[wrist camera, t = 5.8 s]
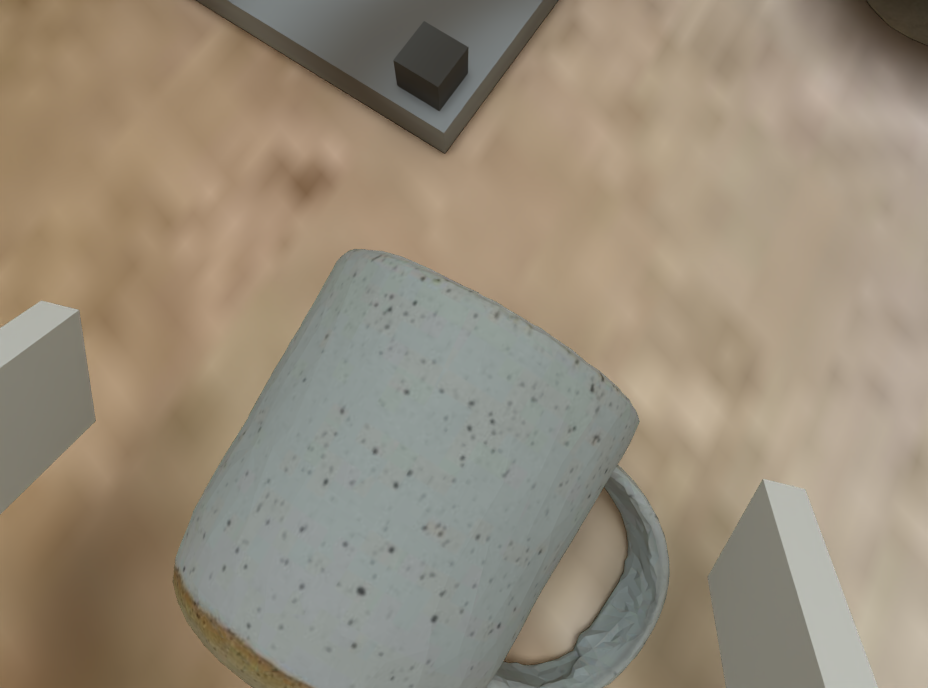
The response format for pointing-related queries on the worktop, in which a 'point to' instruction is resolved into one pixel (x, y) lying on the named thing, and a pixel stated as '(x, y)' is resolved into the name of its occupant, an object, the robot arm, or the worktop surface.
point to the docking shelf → (399, 51)
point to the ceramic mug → (415, 498)
